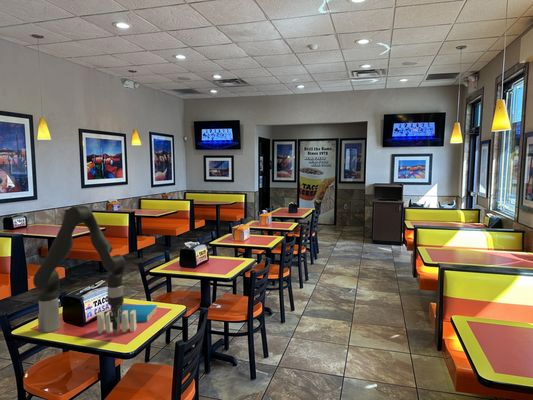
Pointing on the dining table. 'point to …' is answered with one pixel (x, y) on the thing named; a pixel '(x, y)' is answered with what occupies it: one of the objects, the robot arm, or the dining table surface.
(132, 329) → the domino
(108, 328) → the domino
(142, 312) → the book
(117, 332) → the domino
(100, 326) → the domino
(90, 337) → the dining table surface
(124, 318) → the domino
